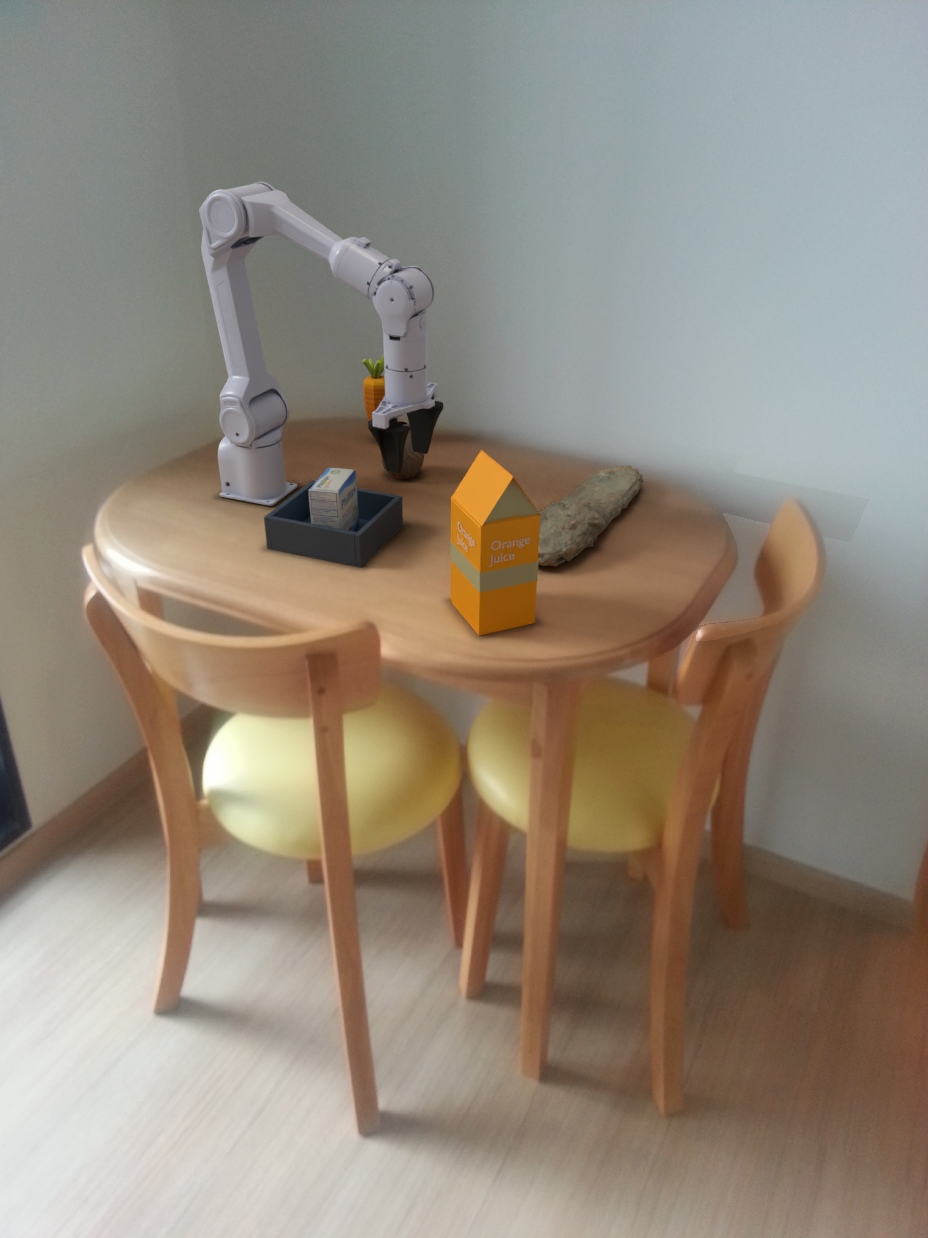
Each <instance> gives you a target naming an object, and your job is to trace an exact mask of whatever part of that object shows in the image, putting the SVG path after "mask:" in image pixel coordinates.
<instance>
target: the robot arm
mask: <svg viewBox="0 0 928 1238" xmlns="http://www.w3.org/2000/svg"><path fill="white" fill-rule="evenodd" d="M198 211H199V217H200V222H201V226H202V236H201V244H200V249H201V250H200V251H201V256H202V260H203V265H204V270H205V275H206V279H207V283H208V284H207V285H208V288H209V294H210V299H211V301H212V302H211V303H212V307H213V313H214V316H215V321H216V326H217V330H218V334H219V339H220V344H221V348H222V354H223V358H224V362H225V368H226V372H227V376H228V378H227V379H226V382H225V383H224V386H223V388H222V390H221V391H220V394H219V396H218V398H219V399H218V400H219V402H220V412H219V418H218V419H219V427H220V429H221V431H222V433H223V434H224V436H223V437H222V439H221V441H220V442H219V444H218V448H217V463H218V471H219V477H220V479H219V480H220V485H221V491H220V492H219V497H221V498H225V499H231V500H235V501H236V500H237V501H242V502H247V503H252V504H258V505H263V506H269V507H273V506H275V505H276V504H277V503H279V502H280V501H281V500H282V499H284V498H285V497H287V496H288V495H289V494H291V493H292V492H293V491H294V490H296V489H297V488H298V484H297V483H294V482H288V481H286V480H287V479H286V469H285V468H286V467H285V457H284V448H283V438H282V435H283V434H284V425H286V423H287V422H288V421H289V418H290V406H289V403H288V400H287V398H286V397H285V396H284V394H283V392H282V390H281V387H280V381H279V379H277V378H276V377H275V376H273V375H272V374H270V373H269V372H268V371H267V368H266V362H265V358H264V352H263V348H262V342H261V337H260V332H259V327H258V322H257V317H256V311H255V306H254V301H253V296H252V292H251V286H250V282H249V281H250V280H249V276H248V271H247V267H246V258H247V256H248V255H249V254H250V253H251V251H252V249H253V248H254V246H255V245H256V244H257V243H258V242H259V241H260V240H262V239H263V238H265V237H270V236H271V237H272V236H280V237H281V238H283V239H285V240H287V241H289V242H291V243H292V244H295V245H296V246H298V247H299V248H302V249H303V250H305V251H307V252H309V253H310V254H313V255H314V256H316V257H317V258H320V259H322V260H323V261H325V262H326V263H328V264H329V265H330V270H331V274H332V276H333V277H334V278H335V279H336V280H338V281H340V282H341V283H342V284H344V285H346V286H347V287H349V288H350V289H352V290H353V291H355V292H356V293H358V294H360V295H361V296H363V297H364V298H366V299H368V300H369V301H371V302H372V303H373V307H374V309H375V311H376V313H377V315H378V316H379V317H380V321H381V330H382V339H383V341H382V342H383V343H382V344H383V355H384V371H383V376H384V377H385V396H384V398H383V400H382V401H381V403H380V405H379V407H378V408H377V410H375V411H374V412H372V419H371V420H370V421H368V420H367V429H368V431H369V432H370V433H371V435H372V436H373V438H374V440H375V441H376V444H377V445H378V448H379V451H380V455H381V454H382V457H383V460H384V464H385V467H386V470H387V471H391V472H396V473H400V472H401V471H402V467H403V457H404V447H405V442H406V438H407V435H408V433H409V431H410V432H411V442H412V447H413V451H414V452H418V453H423V454H424V455H427V454H428V453H429V450H430V447H431V444H432V443H431V442H432V439H433V434H434V430H435V427H436V425H437V422H438V420H439V418H440V415H441V413H442V411H443V410H444V403H443V401H440V400H435V399H437V398H438V397H439V384H438V383H435V382H430V381H428V314H427V313H428V311H426V310H428V309H429V308H430V307H431V305H432V304H433V302H434V299H435V286H434V282H433V281H432V278H431V277H430V276H429V275H428V273H427V272H425V271H424V270H423V269H422V267H421V266H417V265H407V266H403V265H402V262H401V261H400V260H399V259H397V258H390V257H388V255H386V254H384V253H382V252H380V251H379V250H378V249H376V248H375V247H372V246H371V245H372V241H371V240H370V239H368V238H367V237H365V236H362V237H357V236H349V237H347V238H345V239H343V238H342V237H340V236H339V235H337V234H336V233H335V232H333V231H332V230H330V228H327V227H326V226H325V225H324V224H322V223H321V222H320V221H318V220H317V219H315V218H314V217H312V216H311V215H310V214H309V213H307V212H306V211H305V210H303V209H302V208H300V207H299V206H298V205H296V204H294V202H292V201H291V200H290V199H289V197H288V195H287V194H286V192H284V191H282V190H280V189H276V188H275V187H274V186H273V185H272V184H270V183H268V182H266V181H265V182H264V181H255V182H253V183H250V184H247V185H246V184H245V185H242V186H237V187H232V188H227V189H224V188H223V189H215V190H214V191H212V192H211V193H210V194H209V195H208V196H207V197H206V198H205V200H204V202H203V203H202V204H201V206H200V207H199V209H198ZM405 414H406V417H407V421H408V422H409V425H410V427H409V426H404V425H400V422H398V421H399V419H398V418H400V417H402V416H403V415H405ZM386 470H385V471H386ZM387 471H386V472H387Z"/></svg>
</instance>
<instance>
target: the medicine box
mask: <svg viewBox="0 0 928 1238" xmlns="http://www.w3.org/2000/svg"><path fill="white" fill-rule="evenodd" d="M315 481H316V482H315V483H314V485H313V486H312V487H311V488H310V489H309V503H310V513H311V524H317V525H322V526H327V527H332V528H338V529H343V530H348V531H353V532H354V530H355V529H356V527H357V526H358V524H359V516H358V500H357V488H358V486H357V485H358V484H357V483H358V482H357V471H356V470H355V469H350V468H341V467H327V468H326V469H325V470H324V471H323V473H322V474H321V475H320V476H319V477H318V479H316V480H315Z"/></svg>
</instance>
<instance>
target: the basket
mask: <svg viewBox="0 0 928 1238" xmlns="http://www.w3.org/2000/svg"><path fill="white" fill-rule="evenodd" d="M316 481H317V480H311V481H309V482H308V483H307V484H306V485H304V486H303V487H301V488H300V489H299V490H297V491H296V492H295V493H293V494H292V495H291V496H290V497H288V498H286V500H284V501H283V502H282V503H281V504H279V505H278V506H276V507H275V508H274V509H272V510H271V511H270V512H268V513H267V514H266V515H264V516H263V520H264V521H263V523H264V533H265V541H266V549H269V550H274V551H279V552H283V553H288V554H292V555H298V556H303V557H307V558H314V559H317V560H323V561H327V562H332V563H338V564H342V565H348V566H352V567H356V568H363V567H364V565H366V563H368V562H369V561H370V560H371V558H373V557H374V556H375V554H377V552H379V550H381V549H382V548H383V547H384V546H385V545H386V544H387V543H388V542H389V541H390V540H391V539H392V538H393V537H394V536H395V535H396V534H397V533H398V532H399V531H400V530H401V529H402V528H403V527H404V522H403V521H404V520H403V519H404V517H403V514H404V512H403V511H404V510H403V496H402V495H398V494H393V493H387V492H382V491H376V490H371V489H365V488H359V487H357V500H358V516H359V524H358V526H357V527H356V529H355V530H354V532H353V531H348V530H343V529H338V528H332V527H327V526H322V525H317V524H311V513H310V503H309V489H310V488H311V487H312V486H313V485H314V483H315V482H316Z"/></svg>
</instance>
